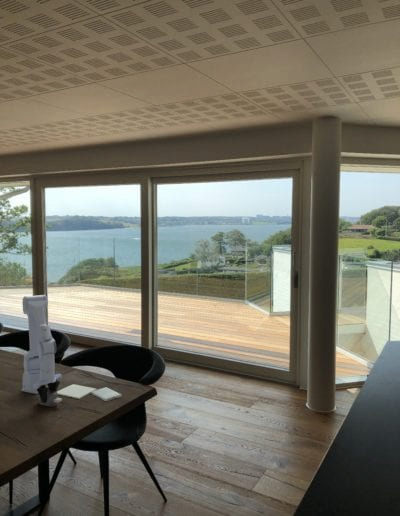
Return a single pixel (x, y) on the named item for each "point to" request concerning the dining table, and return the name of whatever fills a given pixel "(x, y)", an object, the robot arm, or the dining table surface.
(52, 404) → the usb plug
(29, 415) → the dining table surface
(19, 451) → the dining table surface
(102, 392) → the hard drive
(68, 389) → the rubber mat
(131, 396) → the dining table surface
